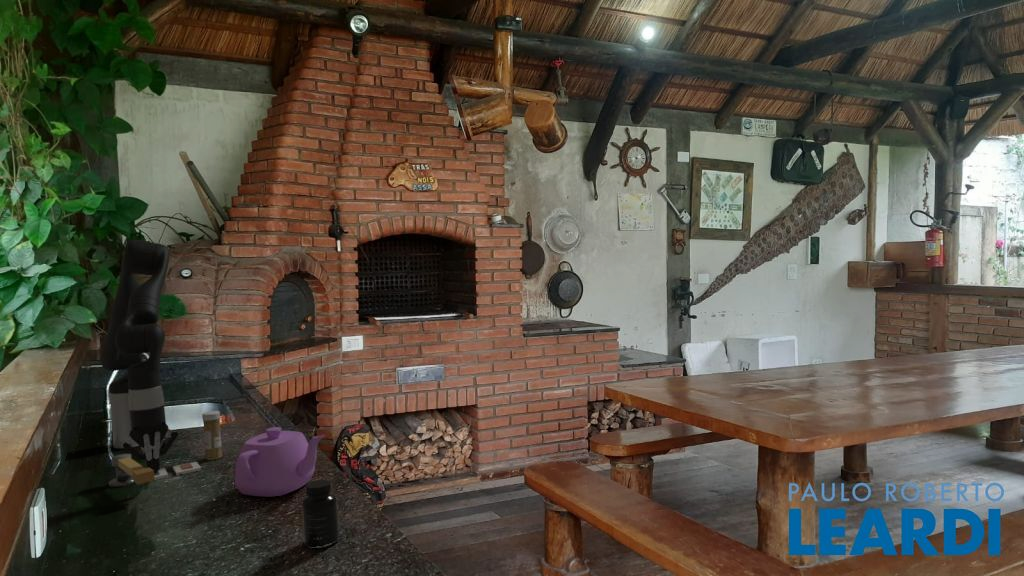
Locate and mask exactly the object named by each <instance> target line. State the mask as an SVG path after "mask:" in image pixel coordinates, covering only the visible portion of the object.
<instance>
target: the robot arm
mask: <svg viewBox="0 0 1024 576" xmlns="http://www.w3.org/2000/svg"><path fill="white" fill-rule="evenodd" d="M121 259H122V260H121V268H120V273H119V282H118V287H117V291H116V293H115V297H114V300H113V304H112V309H111V314H110V320H109V326H108V329H107V332H106V335H105V338H104V340H103V342H102V346H101V349H100V356H99V357H100V364H101V366H102V368H103V369H104V370H106V371H109V372H110V371H113V372H114V371H122V370H123V371H124V370H127V371H126V373H125V374H124V375H123V376H121V377H120V378H117V379H116V380H113V381H112V382H111V383H110V384H108V385H109V386H108V390H109V403H110V413H111V414H110V417H111V428H112V442H113V443H112V444H113V448H114V449H125V450H126V451H127V452H129V454H131V456H133V457H134V458H136V459H137V460H138V461H144V465H145V466H144V468H151V469H152V470H154V474H157V473H158V472H157V471H159V470H160V469H161V466H160V457H161V456H163V455H166V454H167V453H168V452H169V450H170V448H171V447H172V445H173V444H174V442H175V440H176V439H177V438H178V436H179V432H178V431H176V430H173V429H170V428H169V426H168V424H167V422H166V420H167V419H166V410H165V397H164V391H163V387H162V380H161V359H162V354H163V348H164V345H165V340H166V332H165V330H164V328H163V327H162V326H161V325H160V324H159V323H158V322H159V315H160V301H161V297H162V292H163V289H164V286H165V282H166V277H167V274H168V269H169V263H170V249H169V247H168V246H167V245H165V244H162V243H158V242H157V243H156V242H152V241H146V240H139V239H130V240H129V241H127V243H126V245H125V246H124V249H123V253H122V257H121ZM136 275H143V276H150V278H148V279H147V280H146V281H145V282H144V283H141V284H140V282H139V280H138V279H137V276H136ZM144 354H149V356H148V358H146V359H145V360H144V361H143V359H144V358H143V357H144ZM165 437H166V438H165ZM164 438H165V440H164V441H163V439H164ZM162 441H163V443H162V444H161V442H162ZM136 447H141V450H142V453H141V452H139V451H138V450H136Z"/></svg>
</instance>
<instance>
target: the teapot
mask: <svg viewBox="0 0 1024 576" xmlns="http://www.w3.org/2000/svg"><path fill="white" fill-rule="evenodd" d="M264 431H265V432H264V433H261V434H258V435H256V436H253V437H251V438H249V439H247V440H246V441H245V442H244V443H243V445H242V447H241V449H240V453H239V455H238V456H237V457H236V466H235V472H234V483H235V487H236V488H237V489H238V491H239V492H240V493H241V495H246V496H254V497H264V498H265V497H267V498H268V497H272V498H273V497H275V496H280V497H283V496H282V495H284V496H285V494H286V495H287V494H289V493H292V492H295V491H296V490H298V489H300V488H303V486H306V485H307V484H308V483H309V482H310V481H311V479H312V478H313V476H314V473H315V469H316V463H317V456H318V454H317V453H318V450H317V449H318V444H319V442H320V441H321V440H322V439H323V438H325V437H326V435H325V434H322V435H317V436H316V435H315V436H313V437H312V438H311V439H310V440H309V442H308V440H307V438H306V437H305V435H304V433H303V432H301V431H295V430H282V427H278V426H273V427H269V428H266V429H265V430H264ZM275 498H276V497H275Z"/></svg>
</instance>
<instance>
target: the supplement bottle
mask: <svg viewBox="0 0 1024 576" xmlns="http://www.w3.org/2000/svg"><path fill="white" fill-rule="evenodd" d="M332 491H333V489H332V482H331V481H330V480H329V479H315V480H312V481H308V482H307V483H306V484H305V496H306V497H305V498H304V499H303V500H302V503H301V514H302V515H301V516H302V526H303V527H302V528H303V529H302V530H303V543H304V545H305V546H306V547H307V546H309V547H316V546H323V545H326V544H329V543H332V542H334V541H336V540H337V539H338V538H339V539H340V537H339V536H340V523H339V509H338V507H339V506H338V498H337V496H336V495H335V494H334V493H333V492H332Z"/></svg>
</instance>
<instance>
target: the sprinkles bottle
mask: <svg viewBox="0 0 1024 576" xmlns="http://www.w3.org/2000/svg"><path fill="white" fill-rule="evenodd" d="M220 418H221V413H220V411H219V410H209V411H205V412H203V413H202V418H201V419H202V422H203V436H204V437H203V439H204V441H203V442H204V449H205V460H206V461H216V460H218V459H222V458H223V451H222V436H221V435H222V433H221V426H220V423H221V422H220ZM215 459H216V460H215Z"/></svg>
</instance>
